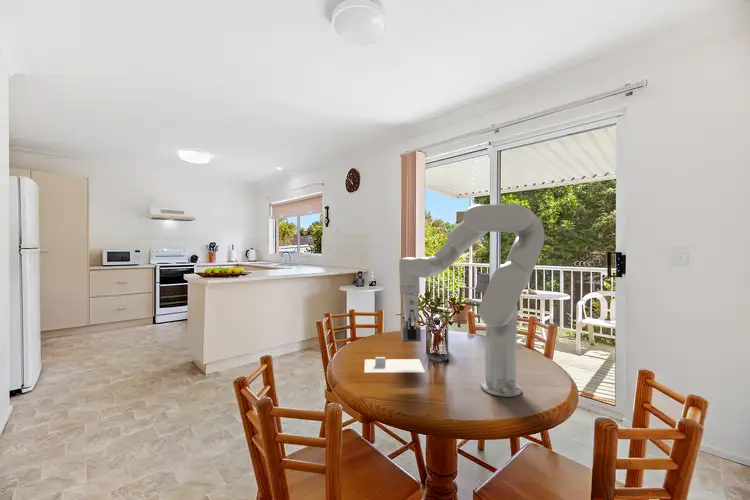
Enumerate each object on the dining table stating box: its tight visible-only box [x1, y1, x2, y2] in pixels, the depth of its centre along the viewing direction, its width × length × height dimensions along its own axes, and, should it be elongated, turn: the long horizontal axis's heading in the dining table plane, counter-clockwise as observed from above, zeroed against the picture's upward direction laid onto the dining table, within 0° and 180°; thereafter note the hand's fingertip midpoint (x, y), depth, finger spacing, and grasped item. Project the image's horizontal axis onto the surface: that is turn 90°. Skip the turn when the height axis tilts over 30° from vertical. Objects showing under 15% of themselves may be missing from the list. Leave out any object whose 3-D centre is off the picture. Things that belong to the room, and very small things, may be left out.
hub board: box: [363, 356, 426, 374], centre depth 128 cm, size 14×22×4 cm, turn 91°
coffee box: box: [425, 316, 449, 356], centre depth 144 cm, size 9×6×16 cm
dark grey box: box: [400, 323, 422, 343], centre depth 127 cm, size 7×7×5 cm
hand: (410, 336), depth 127 cm, fingers closed on dark grey box, 6 cm apart
